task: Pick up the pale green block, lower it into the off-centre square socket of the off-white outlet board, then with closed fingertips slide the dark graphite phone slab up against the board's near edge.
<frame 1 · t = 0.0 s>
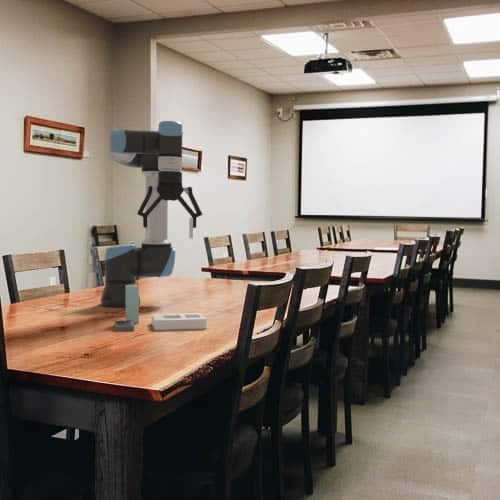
hand: (169, 238, 206), 28 cm above the table, fingers open, 13 cm apart
phone: (124, 329, 202), on the table
pale green block: (132, 322, 212), on the table
outlet board: (178, 325, 207), on the table
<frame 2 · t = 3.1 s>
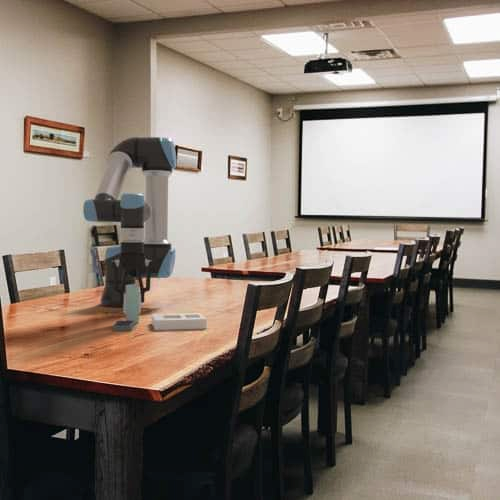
hand: (132, 312, 212), 3 cm above the table, fingers closed on pale green block, 4 cm apart
pale green block: (132, 322, 212), on the table, touching gripper
everything else where it was.
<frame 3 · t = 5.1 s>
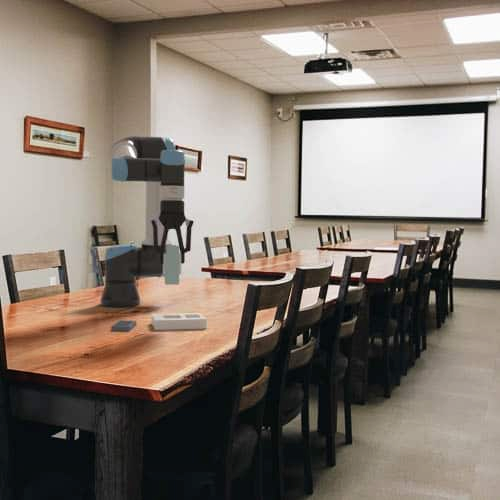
hand: (171, 273, 205), 17 cm above the table, fingers closed on pale green block, 4 cm apart
pale green block: (171, 283, 206), point 13 cm above the table, touching gripper
everything else where it was.
when the fingers open (5 cm above the table, at t = 7.4 s): pale green block drops 2 cm, resting on outlet board.
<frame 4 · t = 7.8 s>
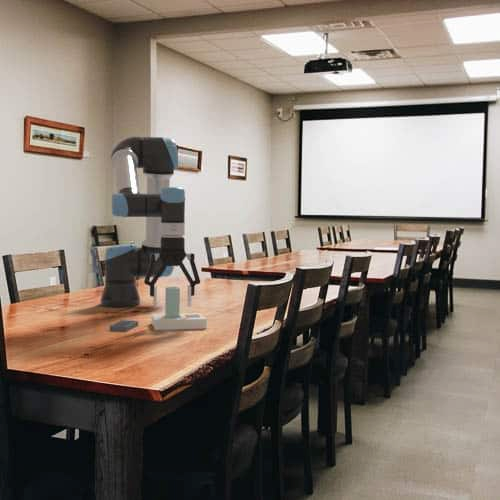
hand: (172, 306, 206), 6 cm above the table, fingers open, 10 cm apart
pale green block: (172, 325, 207), resting on outlet board
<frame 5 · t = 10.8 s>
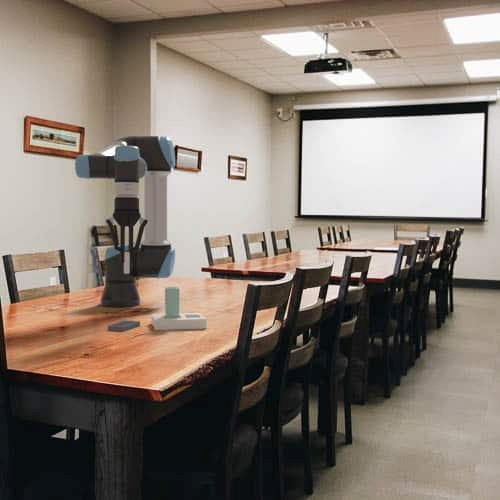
hand: (126, 273, 201), 17 cm above the table, fingers closed
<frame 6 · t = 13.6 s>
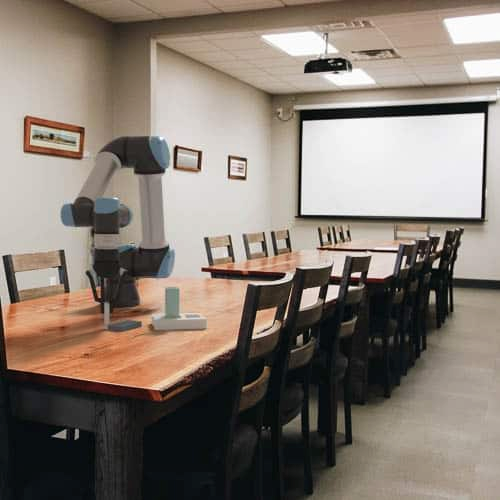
hand: (106, 324, 201), 1 cm above the table, fingers closed
phone: (124, 329, 202), on the table, touching gripper
everything else where it was.
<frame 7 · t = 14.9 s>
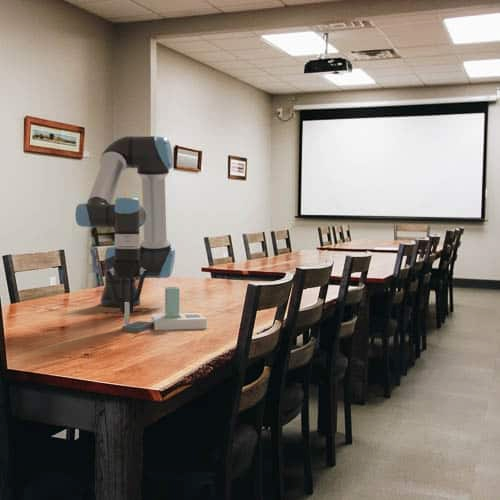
hand: (126, 323, 202), 1 cm above the table, fingers closed
phone: (138, 330, 201), on the table, touching outlet board
everything else where it was.
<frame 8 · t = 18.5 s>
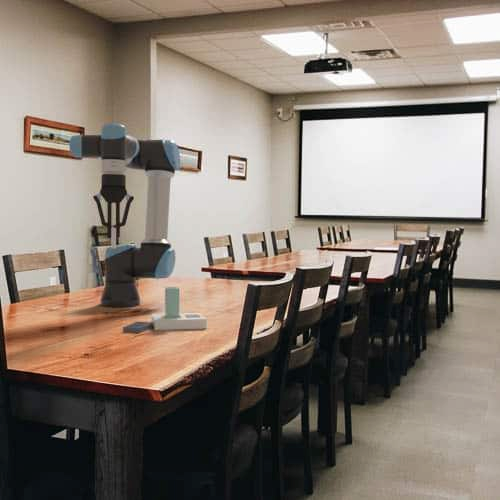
hand: (113, 248, 208), 24 cm above the table, fingers closed
phone: (138, 330, 200), on the table
everything else where it was.
at the end: pale green block 0.0 cm from the target spot on the outlet board, point 0.2 cm above the outlet board's base; pale green block tilted 0°; phone inside the target area (3.7 cm from its centre), on the table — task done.
